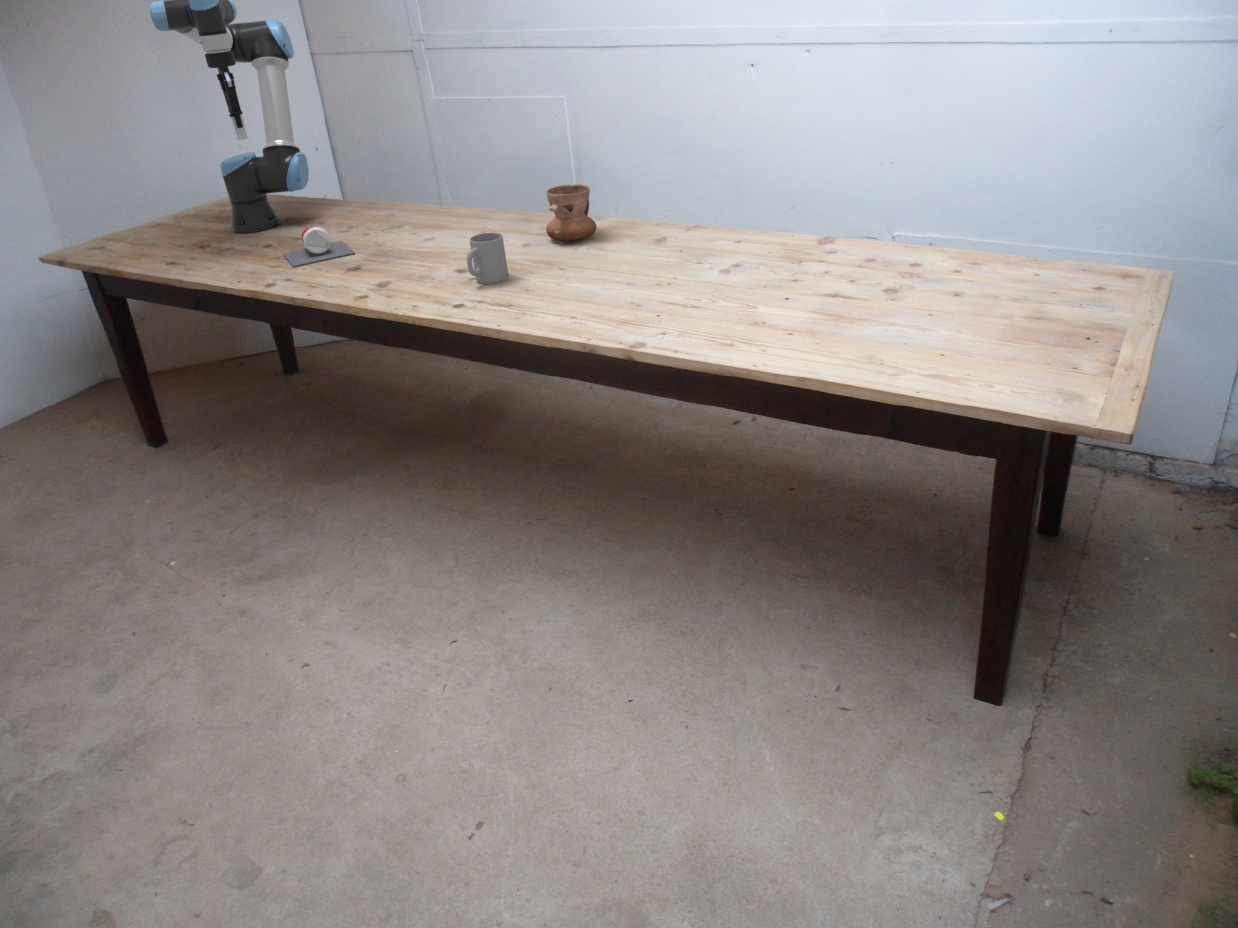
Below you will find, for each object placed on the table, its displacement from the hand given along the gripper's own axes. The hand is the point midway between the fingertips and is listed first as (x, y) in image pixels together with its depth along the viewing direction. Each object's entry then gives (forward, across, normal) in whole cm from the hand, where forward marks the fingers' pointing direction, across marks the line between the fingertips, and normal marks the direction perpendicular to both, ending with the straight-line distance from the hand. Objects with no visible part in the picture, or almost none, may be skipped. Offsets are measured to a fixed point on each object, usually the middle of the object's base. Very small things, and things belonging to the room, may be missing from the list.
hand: (242, 139), depth 266 cm
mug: (+33, +79, +41) cm, 95 cm away
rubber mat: (+32, +19, +10) cm, 39 cm away
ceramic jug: (+33, +60, +75) cm, 101 cm away
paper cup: (+29, +8, +10) cm, 32 cm away
